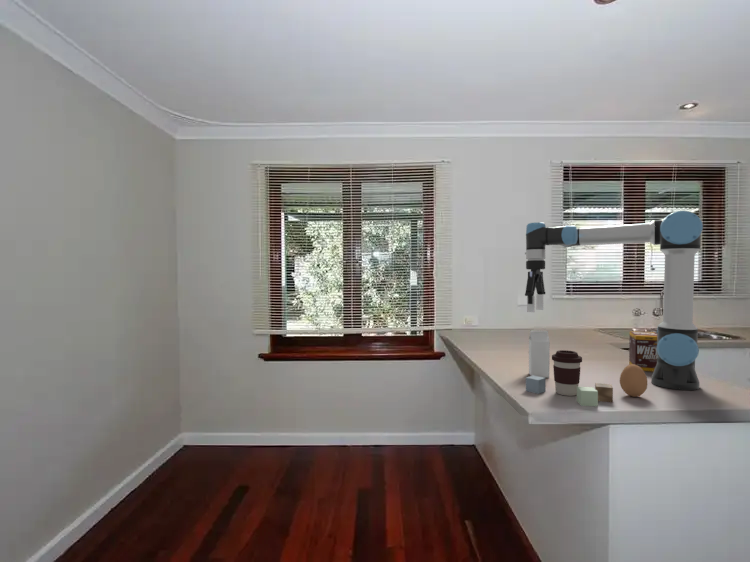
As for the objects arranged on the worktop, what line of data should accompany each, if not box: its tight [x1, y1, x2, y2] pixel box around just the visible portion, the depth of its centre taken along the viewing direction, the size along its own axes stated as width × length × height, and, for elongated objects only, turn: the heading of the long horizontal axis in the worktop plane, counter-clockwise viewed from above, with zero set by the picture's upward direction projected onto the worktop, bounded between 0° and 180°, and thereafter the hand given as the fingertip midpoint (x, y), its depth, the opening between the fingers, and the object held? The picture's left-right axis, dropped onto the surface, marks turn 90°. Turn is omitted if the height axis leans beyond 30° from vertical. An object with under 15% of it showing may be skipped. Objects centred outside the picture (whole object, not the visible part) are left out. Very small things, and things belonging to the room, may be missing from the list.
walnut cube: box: [594, 382, 614, 404], centre depth 146 cm, size 5×5×5 cm
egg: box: [619, 364, 648, 398], centre depth 150 cm, size 8×8×11 cm
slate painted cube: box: [525, 375, 547, 394], centre depth 157 cm, size 5×5×5 cm
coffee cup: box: [551, 349, 583, 397], centre depth 154 cm, size 10×10×15 cm
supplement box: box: [628, 330, 657, 373], centre depth 194 cm, size 10×15×16 cm
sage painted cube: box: [576, 386, 599, 407], centre depth 142 cm, size 5×5×5 cm
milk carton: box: [528, 329, 551, 378], centre depth 180 cm, size 7×7×19 cm
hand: (535, 310), depth 179 cm, fingers open, 13 cm apart
